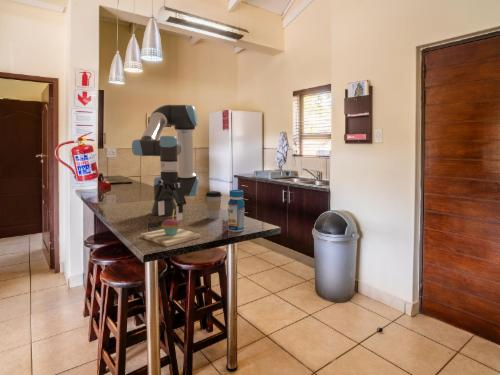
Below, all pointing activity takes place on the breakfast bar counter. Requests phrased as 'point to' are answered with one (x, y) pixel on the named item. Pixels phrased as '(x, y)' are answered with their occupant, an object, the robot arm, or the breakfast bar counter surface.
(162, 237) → the serving board
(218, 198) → the coffee cup
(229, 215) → the beverage bottle
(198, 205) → the breakfast bar counter surface
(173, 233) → the cupcake
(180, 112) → the robot arm
